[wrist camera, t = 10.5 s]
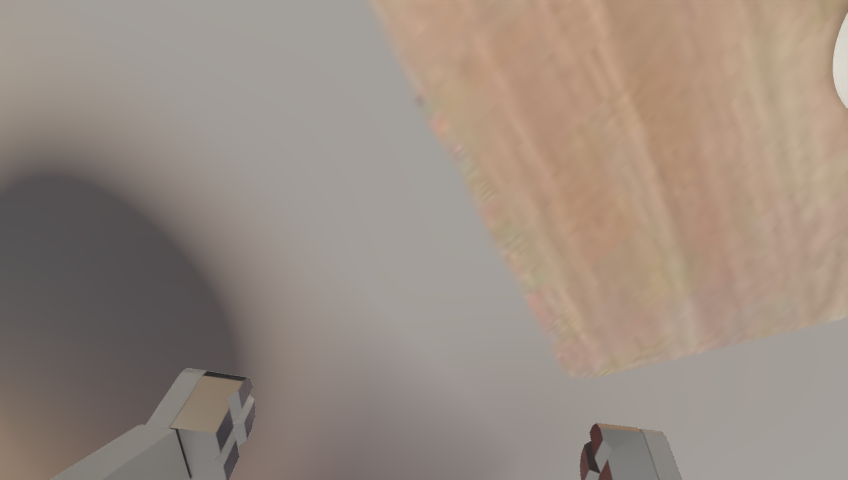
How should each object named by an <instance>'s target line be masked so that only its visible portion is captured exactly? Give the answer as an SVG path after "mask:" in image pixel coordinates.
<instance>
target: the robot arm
mask: <svg viewBox="0 0 848 480" xmlns="http://www.w3.org/2000/svg"><path fill="white" fill-rule="evenodd" d="M833 76H834V82H835V87H836V90H837V92H838V95H839V97H840V99H841V100H842V102H843V104H844V105H845V106H846V108H847V109H848V13H847V15H846V17H845V19H844V22H843V24H842V26H841V29H840V32H839V35H838V38H837V41H836V45H835V50H834V57H833ZM252 388H253V386H252V382H251V378H248V377H242V376H236V375H229V374H223V373H216V372H210V371H204V370H197V369H190V368H187V369H185V370H184V371H183V372H182V373H181V374H180V375H179V376H178V378H177V379H176V381H175V382H174V384H173V385H172V387H171V388H170V390H169V391H168V393H167V394H166V396H165V397H164V399H163V400H162V402H161V403H160V405H159V406H158V408H157V409H156V411H155V412H154V414H153V415H152V417H151V418H150V420H149V421H148V422H147V424H146V425H138V426H136V427H135V428H133V429H131V430H130V431H128V432H127V433H125V434H123V435H122V436H120V437H118V438H117V439H115V440H114V441H112V442H110V443H109V444H107V445H105V446H104V447H102V448H101V449H99V450H97V451H96V452H94V453H92V454H91V455H89V456H88V457H86V458H84V459H83V460H81V461H79V462H78V463H76V464H75V465H73V466H71V467H70V468H68V469H66V470H65V471H63V472H62V473H60V474H58V475H57V476H55V477H53V478H52V479H50V480H190V479H194V480H229V478H230V476H231V474H232V472H233V470H234V468H235V465H236V463H237V461H238V459H239V452H238V446H239V445H241V444H242V443H243V442H245V441H246V440H247V439H248V437H249V434H250V432H251V429H252V426H253V422H254V418H255V408H256V407H255V400H254V399H253V398H252V397H251V396H250V395H249V394H250V392H251V390H252ZM590 438H591V441H590V442H588V443H586V444H585V445H584V447H583V450H582V453H581V459H580V476H581V480H682V478H681V476H680V473H679V470H678V467H677V465H676V462H675V460H674V457H673V454H672V451H671V449H670V446H669V443H668V441H667V438H666V436H665V435H664V433H663V432H660V431H652V430H645V429H638V428H634V427H625V426H617V425H608V424H599V423H596V424H594V425H593V426H592V428H591V430H590Z"/></svg>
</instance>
